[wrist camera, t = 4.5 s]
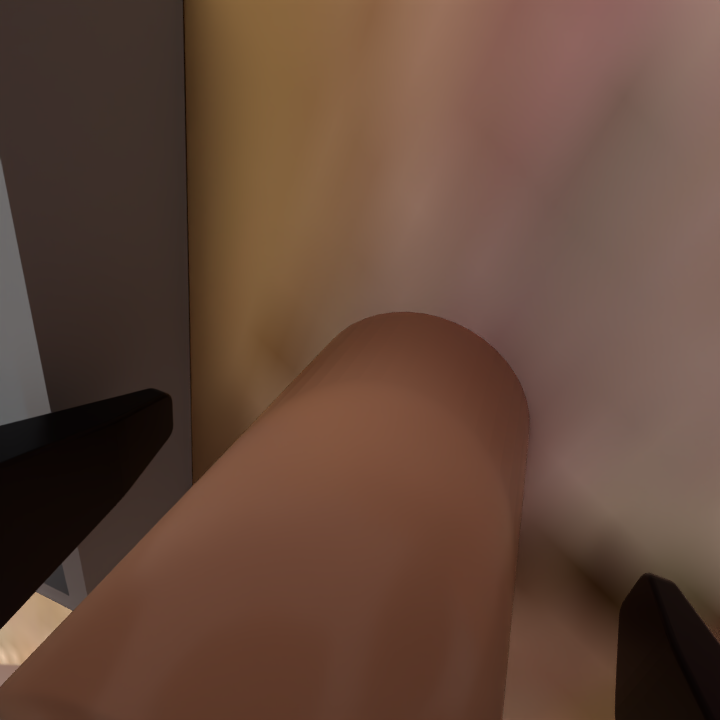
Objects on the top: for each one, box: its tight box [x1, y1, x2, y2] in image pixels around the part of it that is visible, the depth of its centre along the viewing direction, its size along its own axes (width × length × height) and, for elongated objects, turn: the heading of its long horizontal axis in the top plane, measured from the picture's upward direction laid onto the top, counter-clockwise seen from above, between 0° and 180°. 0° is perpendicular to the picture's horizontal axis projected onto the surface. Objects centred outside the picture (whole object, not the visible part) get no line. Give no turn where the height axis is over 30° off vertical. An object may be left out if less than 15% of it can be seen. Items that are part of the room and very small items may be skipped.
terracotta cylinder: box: [0, 312, 530, 720], centre depth 8 cm, size 5×5×8 cm
